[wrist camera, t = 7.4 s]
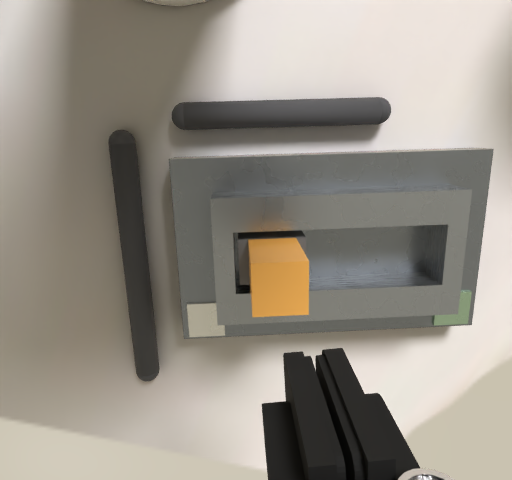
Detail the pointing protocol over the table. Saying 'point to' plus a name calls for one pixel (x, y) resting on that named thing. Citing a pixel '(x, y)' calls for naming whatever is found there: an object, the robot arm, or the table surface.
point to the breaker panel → (334, 236)
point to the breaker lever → (275, 272)
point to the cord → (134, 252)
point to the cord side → (280, 113)
